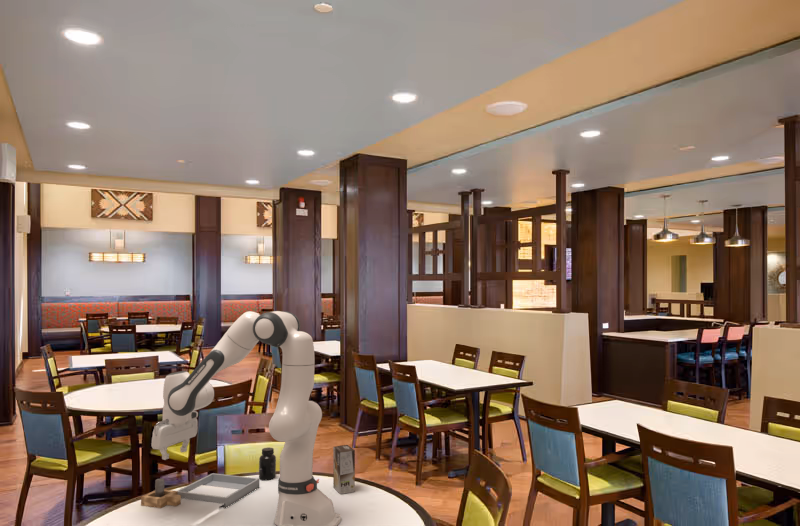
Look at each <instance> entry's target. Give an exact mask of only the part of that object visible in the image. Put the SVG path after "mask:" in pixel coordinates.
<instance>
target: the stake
mask: <svg viewBox="0 0 800 526" xmlns="http://www.w3.org/2000/svg"><path fill="white" fill-rule="evenodd" d="M154 488H155V489H154V491H155V497H162V496H164V489H165V478H157V479H155V483H154ZM147 507H148V508H150V507H149V506H147Z"/></svg>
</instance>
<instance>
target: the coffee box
mask: <svg viewBox="0 0 800 526" xmlns="http://www.w3.org/2000/svg"><path fill="white" fill-rule="evenodd" d="M355 456H356V451H355V449H354V448H352V447H351V446H349V444H344V445H337V446H333V456H332V457H333V460H332V461H333V465H332V467H333V477H332V478H333V482H332V483H333V488H334V489H335V490H336V491H337V492H338V494H340V495H344V494H351V493H355V491H356V489H355V488H356V485H355V484H356V483H355V482H356V476H355V475H356V473H355V472H356V467H355V466H356V465H355V464H356V461H355V460H356V457H355Z"/></svg>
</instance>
